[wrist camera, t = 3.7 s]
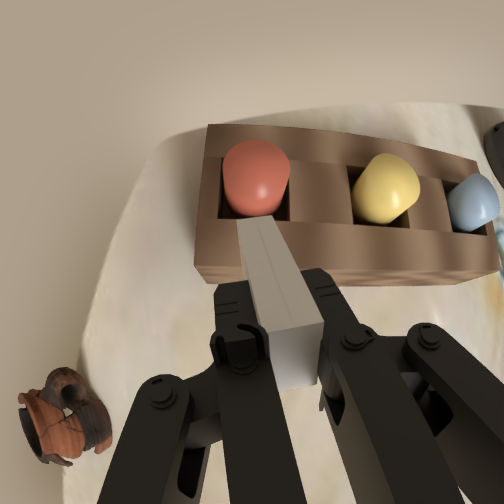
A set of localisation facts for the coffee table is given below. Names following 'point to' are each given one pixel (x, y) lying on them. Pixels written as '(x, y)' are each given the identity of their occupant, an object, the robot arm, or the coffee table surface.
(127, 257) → the coffee table surface
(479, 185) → the slate button
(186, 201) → the coffee table surface
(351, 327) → the robot arm
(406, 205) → the mustard button
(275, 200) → the red button
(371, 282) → the console
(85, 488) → the coffee table surface
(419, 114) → the coffee table surface
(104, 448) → the pottery mug
